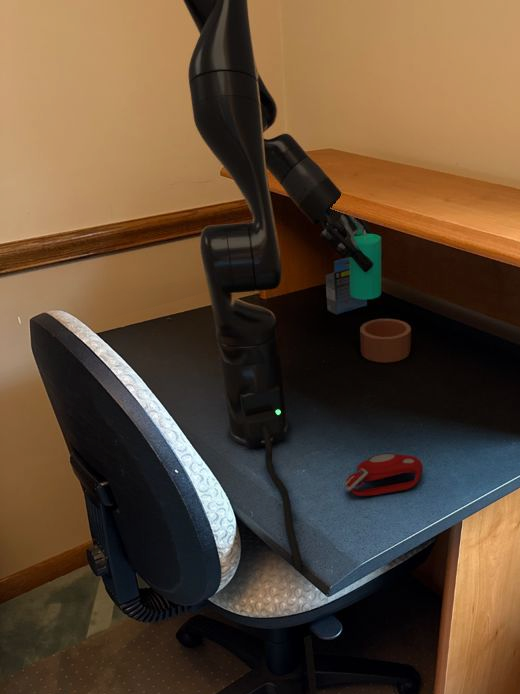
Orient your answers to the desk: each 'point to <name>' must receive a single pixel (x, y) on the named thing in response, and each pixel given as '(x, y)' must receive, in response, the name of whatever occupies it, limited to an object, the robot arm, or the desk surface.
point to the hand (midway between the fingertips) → (374, 264)
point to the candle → (370, 281)
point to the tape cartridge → (341, 290)
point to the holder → (385, 340)
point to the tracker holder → (384, 473)
